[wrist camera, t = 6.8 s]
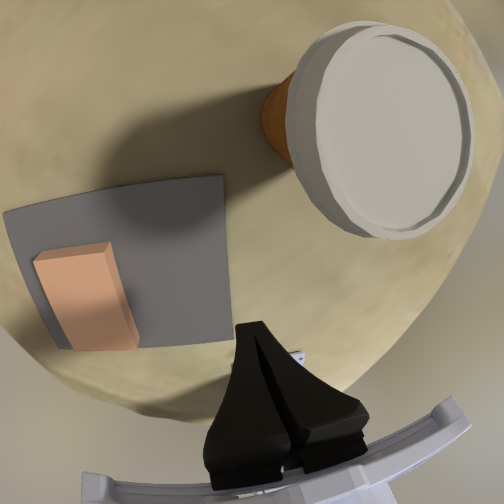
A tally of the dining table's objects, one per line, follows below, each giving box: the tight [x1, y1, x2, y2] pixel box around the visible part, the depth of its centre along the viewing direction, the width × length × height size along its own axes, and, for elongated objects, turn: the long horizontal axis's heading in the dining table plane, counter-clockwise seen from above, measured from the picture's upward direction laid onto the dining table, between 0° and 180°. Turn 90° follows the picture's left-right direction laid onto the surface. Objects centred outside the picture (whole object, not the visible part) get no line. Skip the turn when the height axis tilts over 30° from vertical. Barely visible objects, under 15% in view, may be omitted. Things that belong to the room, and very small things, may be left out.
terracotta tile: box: [33, 242, 140, 351], centre depth 20 cm, size 10×2×7 cm
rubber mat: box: [2, 174, 234, 349], centre depth 21 cm, size 16×20×1 cm
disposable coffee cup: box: [261, 21, 475, 241], centre depth 13 cm, size 10×10×12 cm
